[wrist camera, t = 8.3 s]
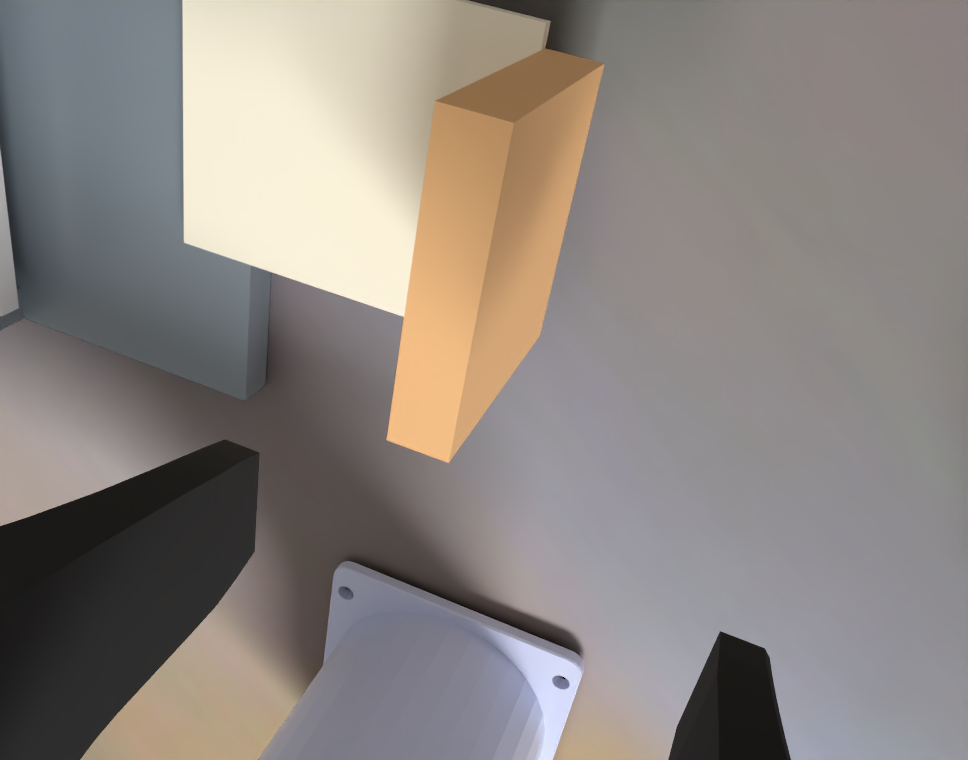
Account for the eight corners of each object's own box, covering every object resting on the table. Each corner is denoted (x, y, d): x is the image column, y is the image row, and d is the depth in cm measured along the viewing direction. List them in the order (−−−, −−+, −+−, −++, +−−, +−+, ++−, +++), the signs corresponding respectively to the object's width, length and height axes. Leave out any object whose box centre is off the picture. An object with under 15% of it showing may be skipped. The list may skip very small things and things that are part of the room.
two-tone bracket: (611, 36, 17) (521, 86, 12) (535, 354, 20) (444, 485, 16) (191, -69, 18) (-24, -60, 14) (191, 238, 22) (20, 325, 18)
